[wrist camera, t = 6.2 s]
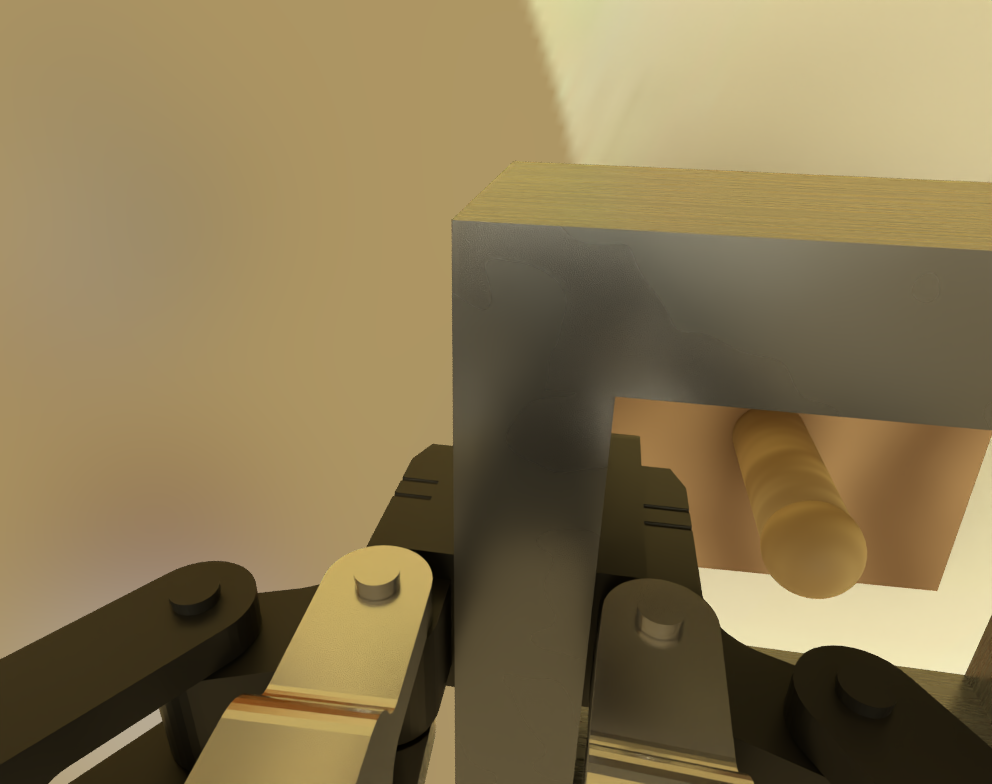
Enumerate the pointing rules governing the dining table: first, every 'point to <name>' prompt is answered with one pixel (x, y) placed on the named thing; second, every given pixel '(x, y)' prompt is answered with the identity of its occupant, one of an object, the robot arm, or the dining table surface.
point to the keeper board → (860, 465)
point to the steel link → (673, 386)
